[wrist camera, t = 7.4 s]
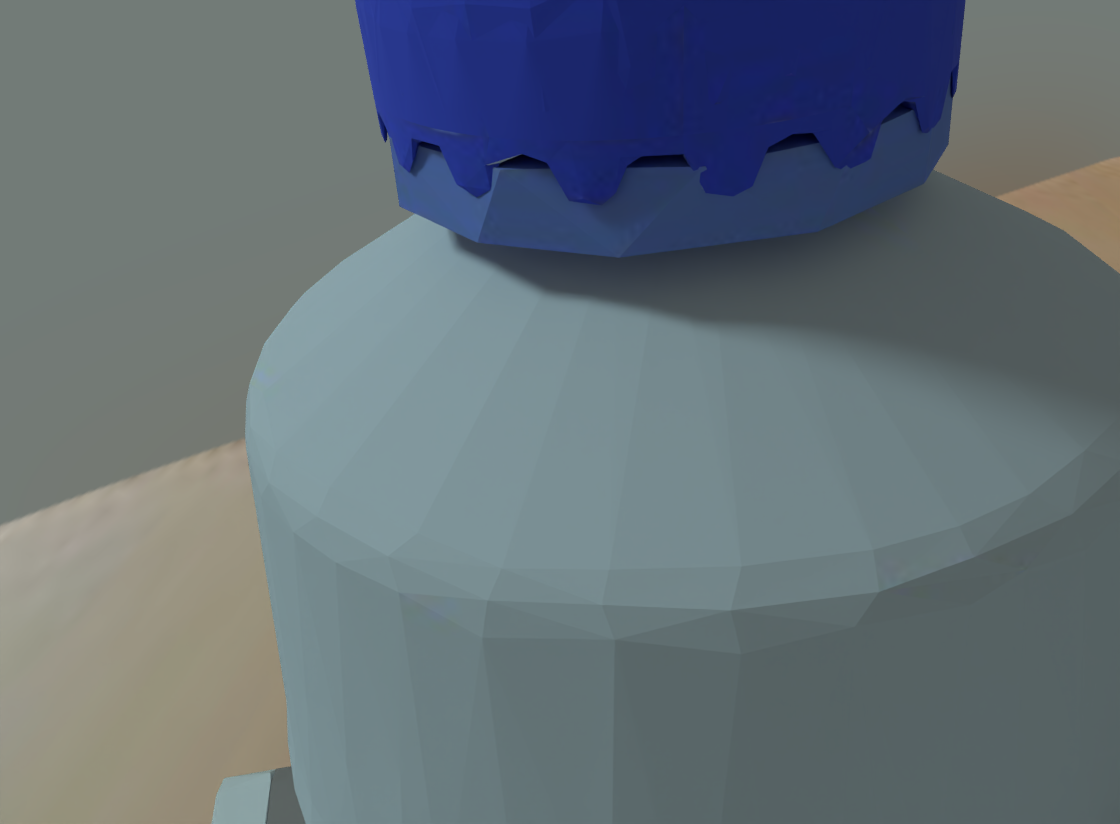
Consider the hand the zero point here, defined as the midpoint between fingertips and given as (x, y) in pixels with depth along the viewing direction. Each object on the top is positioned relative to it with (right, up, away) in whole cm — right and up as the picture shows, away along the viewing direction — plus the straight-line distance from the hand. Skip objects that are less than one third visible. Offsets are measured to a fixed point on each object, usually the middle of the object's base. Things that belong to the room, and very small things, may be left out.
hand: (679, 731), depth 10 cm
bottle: (+1, -10, +5) cm, 12 cm away
